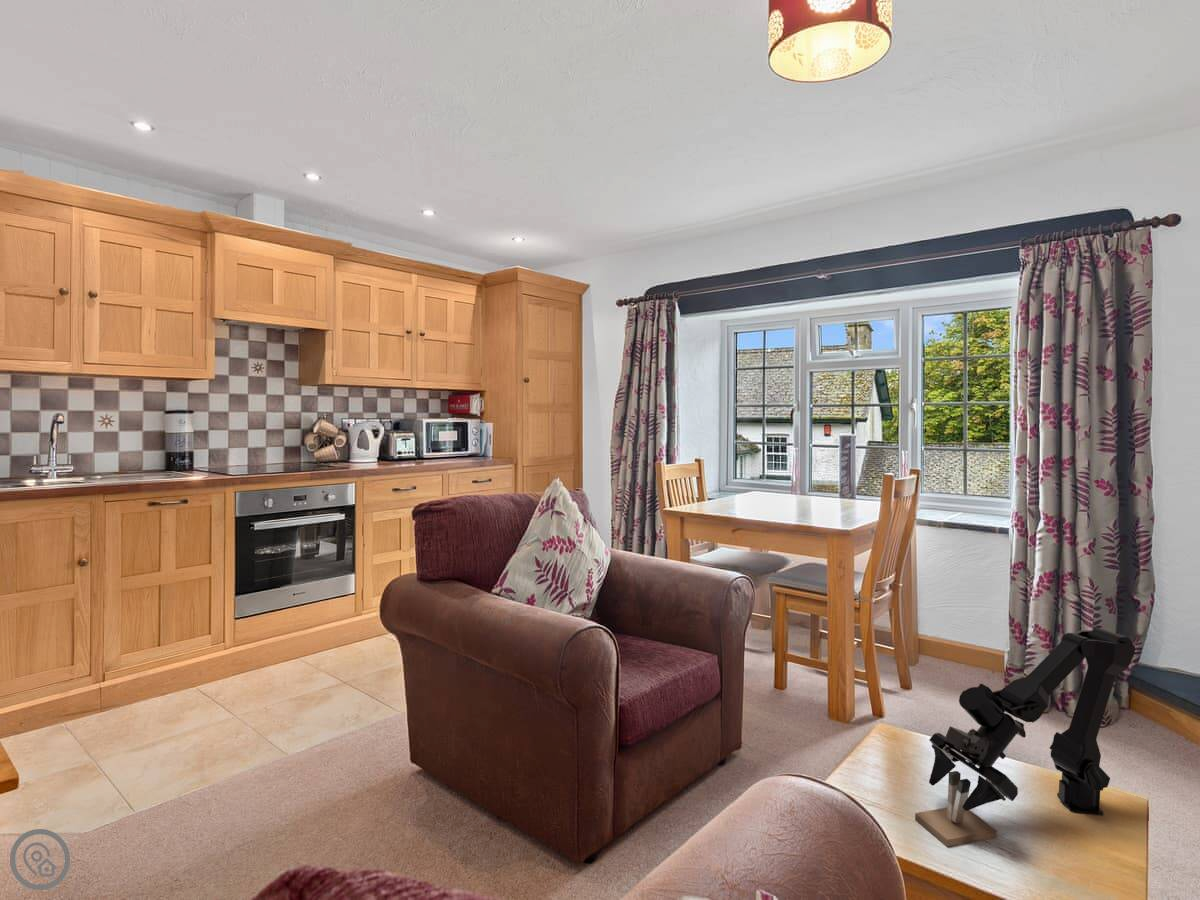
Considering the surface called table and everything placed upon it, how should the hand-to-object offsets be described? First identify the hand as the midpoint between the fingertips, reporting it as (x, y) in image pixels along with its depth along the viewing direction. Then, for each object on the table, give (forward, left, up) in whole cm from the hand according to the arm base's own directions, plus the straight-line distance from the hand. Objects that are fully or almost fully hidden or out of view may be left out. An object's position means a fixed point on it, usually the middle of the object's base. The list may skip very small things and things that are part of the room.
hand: (946, 796), depth 138 cm
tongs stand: (-2, 0, -7) cm, 7 cm away
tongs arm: (-2, 0, -4) cm, 5 cm away
